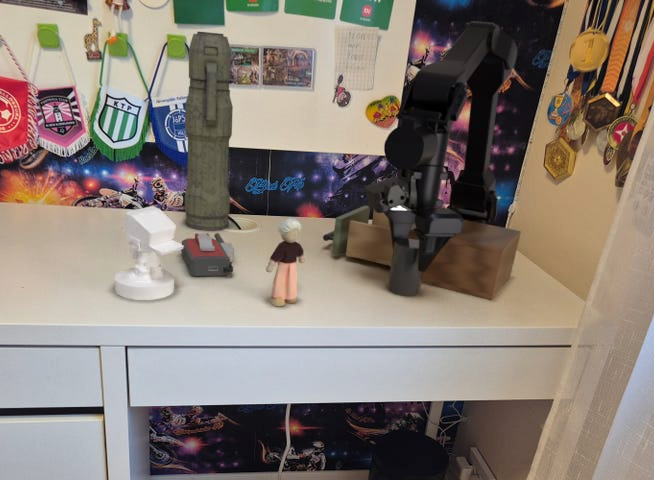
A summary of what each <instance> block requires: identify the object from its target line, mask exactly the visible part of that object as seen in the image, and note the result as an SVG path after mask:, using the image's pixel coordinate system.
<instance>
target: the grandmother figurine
mask: <svg viewBox="0 0 654 480" xmlns="http://www.w3.org/2000/svg"><path fill="white" fill-rule="evenodd" d="M301 231H302V223H301V222H300V221H298V220H297V219H295V218H293V217H287V218H285V219H283V220H281V221H280V223H279V224H278V233H279V234H280V236H281V239H282V241H281V242H279V243H278V245H277V246H276V247H275V249H274V250H273V252H272V253H271V256H269V261H268V262H267V266H265V272H267V273H272V272H273V270H274V267H276V264H277V268H276V270H275V273H274V277H273V281H272V290H271V296H272V297H270V299H269V303H271V305H273V306H275V307H284V306H286V303H289V304H290V303H296V302H297V298H298V277H297V276H298V275H297V261H298V262H299V263H300V264H304V263H305V262H306V257H305V254H304V253H305V251H304V248H303V247H302V245H301V244H300V242H298V241H297V240H298V239H299V237H300V232H301Z"/></svg>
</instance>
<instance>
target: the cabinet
mask: <svg viewBox="0 0 654 480" xmlns="http://www.w3.org/2000/svg"><path fill="white" fill-rule="evenodd" d="M413 228H416V225H415V223H414V224H413V225H412V227H411V230H410V232H409V234H408V237H407V239H415V240H419V237H418V236H417V235H416V233H415V232H414V230H413ZM521 234H522V231H521V230H517V229H512V228H507V227H504V226H503V227H502V226H497V225H492V224H487V223H485V224H483V223H478V222H473V221H468V220H464V223H463V228H462V233H461V234H456V236H455V237H451V239H450V240H449V241H448V242H447V243H446V244H445V246H444V247H443V248H442V249H441V250H440V252H439V253H438V254H437V256H436V257H435V258H434V260H433V261H432V263H431V264H430V265H429V267H428V268H427V269H426V271H425V272H424V274H423V280H422V284H425V285H429V286H434V287H438V288H441V289H446V290H449V291H454V292H458V293H462V294H465V295H470V296H474V297H478V298H483V299H486V300H491V301H492V300H493V299H494V298H495V296H496V295H497V294H498V293H499V292H500V290H501V289H502V288H503V286H504V285H505V284H506V283H507V282H508V280H509V279H510V278H511V275H512V271H513V267H514V263H515V259H516V254H517V250H518V246H519V242H520V238H521Z"/></svg>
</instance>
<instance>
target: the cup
mask: <svg viewBox="0 0 654 480" xmlns="http://www.w3.org/2000/svg"><path fill="white" fill-rule="evenodd" d="M418 253H419V240H415V239H397V240H395V243H394V249H393V256H392V262H391V266H390V270H389V276H388V281H387V290H388V291H389V292H390V293H392V294H394V295H397V296H403V297H416V296H418V295H420V294H421V289H422V284H423V283H422V280H423V274H424V272H419V271H418Z"/></svg>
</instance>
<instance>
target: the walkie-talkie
mask: <svg viewBox="0 0 654 480" xmlns="http://www.w3.org/2000/svg"><path fill="white" fill-rule="evenodd" d="M181 244H182V245H184V248H183V249H181V250H180V251H181V256H182V259H183V261H184V263H185V265H186V268H187V270H188V272H189V275H191V276H193V277H196V278H197V277H225V276H227V275H229V274H232V273H233V272H234V266H233V265H232V262H234V260H235V249H234V247H233V245H232V243H231V242H225V241H224V239H223V238H222V236H221V235H220V233H219V232H216V233H215V234H214V238H211V236H210V234H209V233H206V232H205V233H203V232H202V233H201V232H200V233H199V232H196V233H195V234H194V238H185V239H182V240H181Z"/></svg>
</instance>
